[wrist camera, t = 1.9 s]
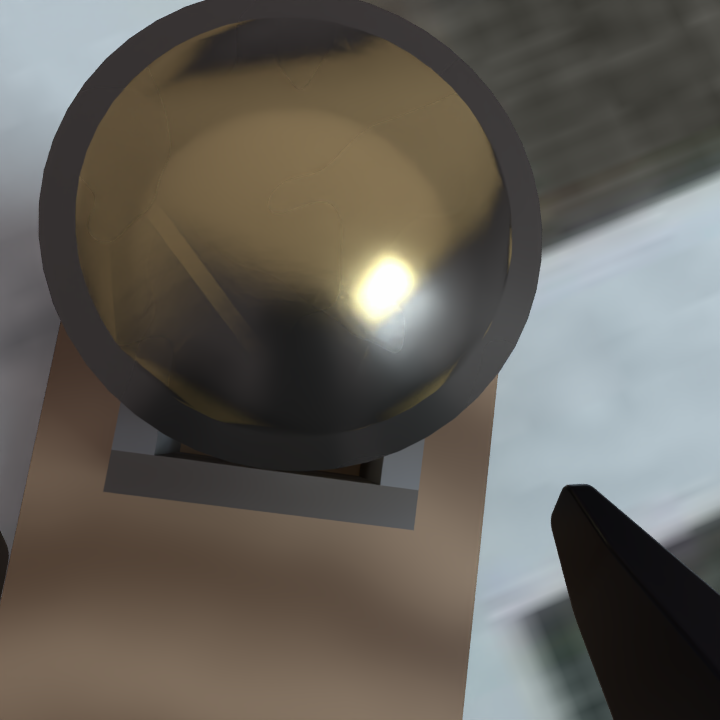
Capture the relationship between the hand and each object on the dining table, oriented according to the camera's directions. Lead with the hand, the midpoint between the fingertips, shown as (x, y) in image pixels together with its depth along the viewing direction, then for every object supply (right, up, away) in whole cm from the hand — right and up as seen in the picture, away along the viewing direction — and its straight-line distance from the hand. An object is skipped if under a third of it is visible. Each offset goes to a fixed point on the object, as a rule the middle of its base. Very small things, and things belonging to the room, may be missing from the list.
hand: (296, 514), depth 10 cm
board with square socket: (-3, -5, +10) cm, 12 cm away
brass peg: (-1, +2, +10) cm, 10 cm away
